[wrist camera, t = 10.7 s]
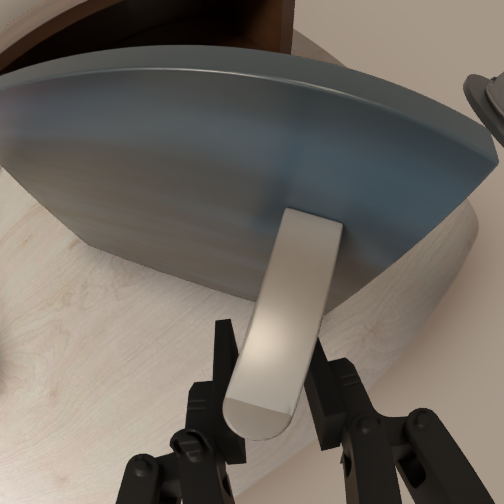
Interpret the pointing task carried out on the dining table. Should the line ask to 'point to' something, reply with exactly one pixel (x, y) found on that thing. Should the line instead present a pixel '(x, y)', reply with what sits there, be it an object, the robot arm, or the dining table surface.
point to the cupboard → (142, 27)
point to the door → (242, 183)
